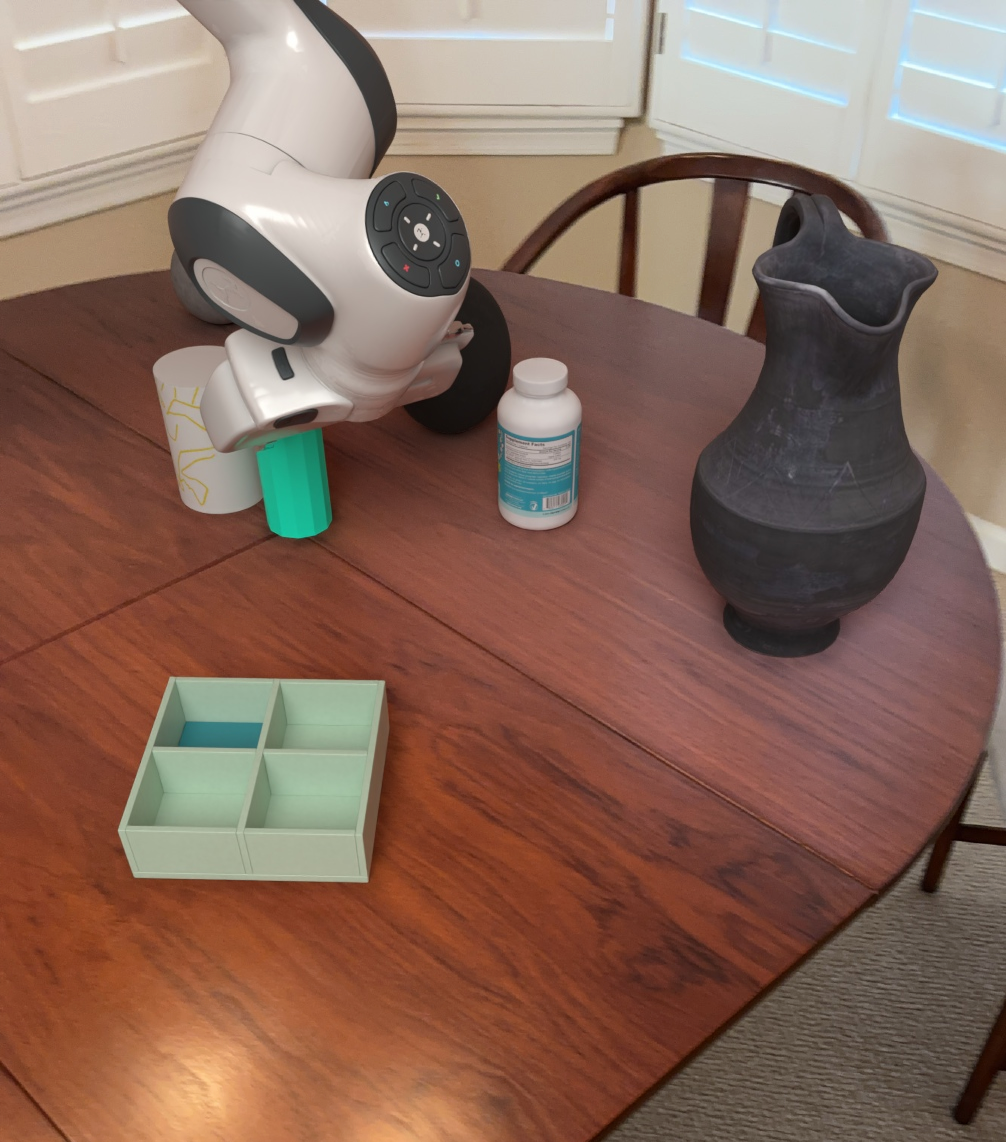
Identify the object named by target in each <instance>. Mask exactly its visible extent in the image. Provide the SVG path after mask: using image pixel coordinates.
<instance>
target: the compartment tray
mask: <svg viewBox="0 0 1006 1142" xmlns="http://www.w3.org/2000/svg"><path fill="white" fill-rule="evenodd" d="M387 695H388V694H387V683H386V680H383V679H382V680H381V679H380V680H378V679H375V680H374V679H325V678H324V679H323V678H322V679H321V678H271V677H269V678H268V677H267V678H266V677H265V678H263V677H212V676H211V677H208V676H207V677H206V676H203V677H202V676H169V679H168V682H167V684H166V687H165V690H164V693H163V696H162V699H161V702H160V705H159V708H158V710H157V714H156V716H155V720H154V722H153V725H152V729H151V732H150V734H149V736H148V740H147V742H146V746H145V749H144V752H143V755H142V758H141V761H140V764H139V767H138V769H137V772H136V774H135V775H136V776H135V777H134V778H135V779H134V782H133V784H132V787H131V790H130V793H129V796H128V799H127V802H126V805H125V808H124V810H123V813H122V816H121V820H120V822H119V825H118V828H117V833H118V836H119V838H120V842H121V844H122V848H123V850H124V853H125V856H126V859H127V862H128V865H129V867H130V868H129V869H130V871H131V873H132V876H133V878H134V879H164V880H165V879H166V880H167V879H169V880H170V879H171V880H172V879H173V880H214V881H215V880H217V881H218V880H219V881H220V880H221V881H225V880H227V881H266V882H269V881H270V882H271V881H273V882H314V883H315V882H316V883H318V882H320V883H366V884H367V883H369V881H370V875H371V874H370V873H371V866H372V860H373V851H374V845H375V844H374V843H375V838H376V831H377V822H378V815H379V809H380V800H381V793H382V786H383V779H384V773H385V764H386V758H387V750H388V743H389V735H390V718H389V708H388V707H389V705H388V696H387Z"/></svg>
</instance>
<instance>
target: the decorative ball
mask: <svg viewBox="0 0 1006 1142" xmlns="http://www.w3.org/2000/svg"><path fill="white" fill-rule="evenodd" d="M173 249H174V250H173V252H172V254H171V258H170V270H169V271H170V279H171V285H172V288H173V291H174V292H175V294H176V296H177V298H178V301H180V303H181V304H182V305H183V307H184V308H185V309H186V310H187V311H188V312H189V313H191V315H193V316H194V317H196V318H197V319H199V320H201V321H204V322H206V323H208V324H214V325H229V324H232V323H233V322H232V321H230V320H229V319H227V318H226V317H225V316H223V315H222V314H220V313H219V312H218V311H216V310H215V309H214V308H213V307H211V306H210V305H209V304H208V303H207V302H206V301H205V300H204V298H203V297H202V296H201V295H200V293H199V292H198V291H197V289H196V288H195V286H194V284H193V283H192V281H191V280H190V278H189V276H188V275H187V273H186V271H185V269H184V268H183V266H182V264H181V262H180V260H179V258H178V256H177V253H176V251H175V248H173Z"/></svg>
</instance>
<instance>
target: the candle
mask: <svg viewBox="0 0 1006 1142" xmlns="http://www.w3.org/2000/svg"><path fill="white" fill-rule="evenodd" d="M322 428H323V427H322ZM322 428H318V429H314V430H311V431H307V432H303V433H300V434H296V435H292V436H289V437H285V438H281V439H278V440H277V442H276V444H275V445H274V448H270V449H267V450H263V451H260V452H256V456H257V462H258V468H259V474H260V480H261V486H262V492H263V498H262V499H263V504H264V511H265V516H266V522H267V525H268V528H269V530H270V531H271V532H273V533H275V534H276V535H278V536H280V537H282V538H291V539H292V538H293V539H304V538H309V537H314V536H317V535H318V534H320V533H322V532H325V531H326V530H328V529H329V527H330V525H331V523H332V521H333V513H332V505H331V495H330V487H329V479H328V471H327V462H326V455H325V447H324V439H323V438H324V437H323V430H322Z"/></svg>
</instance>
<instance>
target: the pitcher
mask: <svg viewBox="0 0 1006 1142" xmlns="http://www.w3.org/2000/svg"><path fill="white" fill-rule="evenodd" d="M751 274H752V277H753V279H754V281H755V283H756V286H757V288H758V291H759V294H760V297H761V302H762V308H763V312H764V313H763V314H764V323H765V331H766V336H765V353H764V355H765V356H764V360H763V363H762V367H761V370H760V372H759V375H758V379H757V381H756V384H755V387H754V389H753V390H752V392H751V393H750V395H749V397H748V399H747V400H746V402H745V404H744V405H743V407H742V408H741V410H740V411H739V412H738V414H737V415H736V416H735V418H734V419H733V420H732V421H731V423H730V424H728V426H727V427H726V428H725V429H724V430H723V431H721V432H720V433H719V434H718V435H716V436H715V437H714V438H713V439H712V440H711V441H710V442H709V443H708V444H707V445H706V446H705V447H704V448H703V449H702V450H701V452H700V454H699V455H698V457H697V461H696V465H695V469H694V473H693V477H692V482H691V489H690V499H689V501H690V502H689V528H690V536H691V537H690V538H691V542H692V547H693V551H694V555H695V558H696V560H697V562H698V564H699V567H700V569H701V571H702V573H703V575H704V576H705V578H706V579H707V581H708V582H709V584H710V585H711V586H712V587H713V588H714V590H715V591H716V592H717V594H719V595H720V597H721V598H723V600H725V602H726V604H725V606H724V610H723V612H722V615H723V619H722V620H723V621H722V622H723V625H724V629H725V631H726V632H727V633H728V636H730V638H732V639H733V640H734V642H736V643H737V644H739V645H741V646H742V647H744V648H745V649H748V650H750V651H752V652H754V653H757V654H761V655H763V656H764V655H765V656H769V657H775V658H798V657H799V658H800V657H804V656H805V657H806V656H809V655H813V654H817V653H820V652H822V651H825V650H826V649H828V648H829V647H830V646H831V645H832V644H833V643H834V642H835V641H837V638H838V636H839V634H840V631H841V619H840V618H843V617H844V616H846V615H848V614H850V613H852V612H854V611H856V610H859V609H860V608H863V607H864V606H866V605H867V604H869V603H870V602H872V601H873V600H874V599H875V598H876V597H878V596H879V595H880V594H881V593H882V592H883V591H884V590H885V589H886V588H887V586H888V585H889V584H890V583H891V582H892V580H893V579H894V578H895V576H896V575H897V573H898V571H899V570H900V568H901V567H902V565H903V564H904V561H905V560H906V557H907V555H908V553H909V551H910V548H911V546H912V543H913V540H914V538H915V535H916V533H917V529H918V525H919V522H920V519H921V514H922V511H923V505H924V501H925V498H926V492H927V486H928V485H927V484H928V482H927V476H926V472H925V469H924V467H923V465H922V463H921V461H920V459H919V458H918V457H917V456H916V454H915V453H914V452H913V449H912V448H911V444H910V441H909V438H908V434H907V431H906V427H905V423H904V416H903V409H902V395H901V382H900V373H899V354H900V353H899V352H900V345H901V342H902V339H903V335H904V333H905V329H906V327H907V324H908V321H909V319H910V316H911V314H912V312H913V310H914V308H915V306H916V303H918V302H919V300H920V298H921V297H922V296H923V294H924V293H925V292H926V291H927V290H928V289H930V287H931V286H933V285H934V283H935V282H936V280H937V279H938V276H939V270H938V268H937V267H936V265H935V264H934V263H933V262H932V260H931V259H929V258H928V257H927V256H924V255H923V254H921V253H919V252H917V251H914V250H913V249H910V248H907V247H904V246H901V245H898V244H893V243H889V242H885V241H881V240H877V239H872V238H867V237H862V236H858V235H855V234H854V233H853V232H851V230H849V228H848V227H847V225H846V223H845V222H844V220H843V218H842V216H841V213H840V211H839V209H838V206H837V205H836V203H835V202H834V200H833V199H832V198H831V197H830V196H829V195H826V194H821V193H814V194H811V195H810V196H809V195H807V194H805V193H801V192H800V193H799V192H798V193H796V194H795V195H793V196H791V197H789V198H788V199H786V201H785V202H784V203H783V206H782V207H781V209H780V212H779V215H778V219H777V223H776V226H775V231H774V236H773V242H772V246H771V248H770V249H767V250H765V251H764V252H763V253H761V254H760V255H759V256H758V257H757V258H756V259H755V260H754V264H753V266H752V269H751Z"/></svg>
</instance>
